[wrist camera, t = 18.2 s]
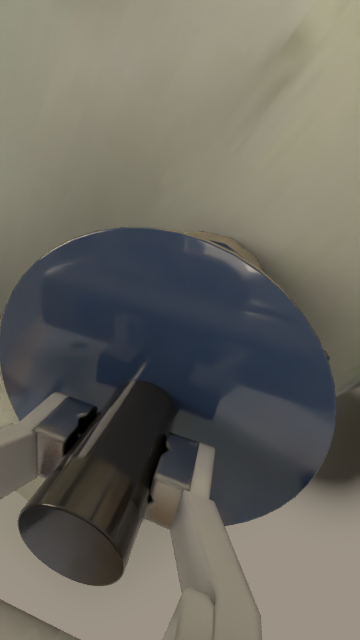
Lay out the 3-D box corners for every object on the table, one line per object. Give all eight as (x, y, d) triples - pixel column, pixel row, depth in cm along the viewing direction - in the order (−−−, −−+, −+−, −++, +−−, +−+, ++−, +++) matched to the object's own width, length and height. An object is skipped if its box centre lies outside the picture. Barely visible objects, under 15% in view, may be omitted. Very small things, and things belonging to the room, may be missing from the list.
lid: (257, 536, 12) (268, 767, 7) (27, 445, 14) (-101, 575, 9) (402, 282, 7) (831, 427, 2) (13, 191, 9) (-303, 142, 4)
